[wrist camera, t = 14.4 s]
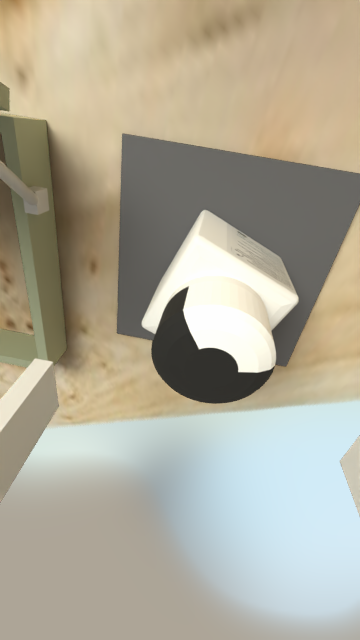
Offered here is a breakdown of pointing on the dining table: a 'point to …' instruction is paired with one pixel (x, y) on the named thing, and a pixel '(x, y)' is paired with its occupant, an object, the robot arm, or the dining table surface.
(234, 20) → the dining table surface
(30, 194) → the case
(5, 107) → the lid
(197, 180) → the mat
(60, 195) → the dining table surface
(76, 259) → the dining table surface
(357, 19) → the dining table surface
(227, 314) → the container
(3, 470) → the robot arm
